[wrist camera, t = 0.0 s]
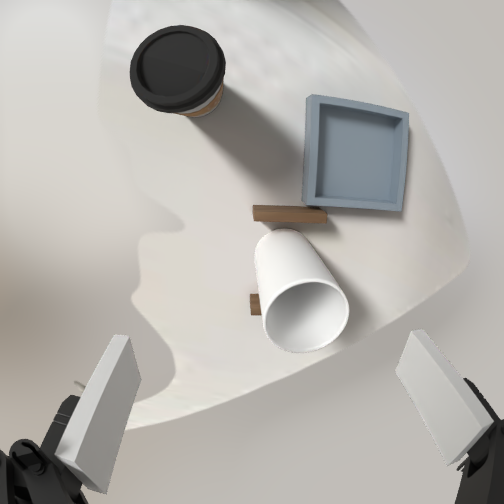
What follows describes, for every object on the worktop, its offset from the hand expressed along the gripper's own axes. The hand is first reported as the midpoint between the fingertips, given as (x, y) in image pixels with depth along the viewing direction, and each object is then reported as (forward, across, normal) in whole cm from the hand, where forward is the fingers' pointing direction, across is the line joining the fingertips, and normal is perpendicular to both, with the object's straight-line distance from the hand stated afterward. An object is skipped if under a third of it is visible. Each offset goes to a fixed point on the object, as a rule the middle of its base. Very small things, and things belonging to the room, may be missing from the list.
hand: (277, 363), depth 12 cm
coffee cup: (+28, -7, +16) cm, 33 cm away
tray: (+28, +14, +9) cm, 32 cm away
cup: (+28, +5, -6) cm, 29 cm away
